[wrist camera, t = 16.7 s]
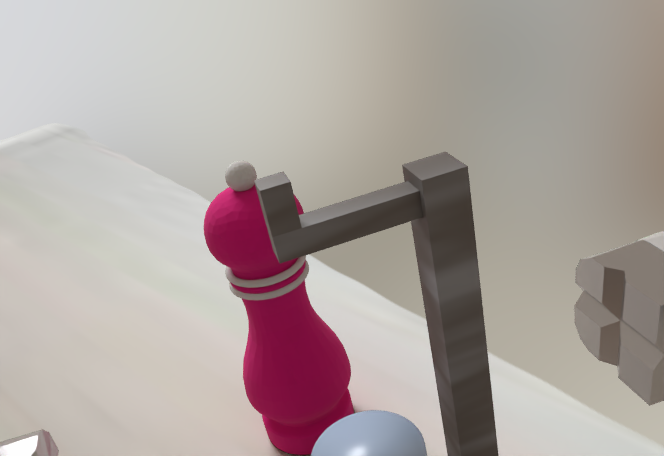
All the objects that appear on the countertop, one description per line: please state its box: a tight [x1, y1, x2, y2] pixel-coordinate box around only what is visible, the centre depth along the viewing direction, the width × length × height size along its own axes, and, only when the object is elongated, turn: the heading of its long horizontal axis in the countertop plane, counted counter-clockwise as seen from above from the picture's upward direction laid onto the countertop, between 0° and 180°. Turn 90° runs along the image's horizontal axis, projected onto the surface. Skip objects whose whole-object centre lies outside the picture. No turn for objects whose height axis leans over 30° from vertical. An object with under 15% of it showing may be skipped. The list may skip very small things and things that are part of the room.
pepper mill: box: [204, 161, 354, 455], centre depth 40 cm, size 7×7×20 cm
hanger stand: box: [254, 152, 498, 456], centre depth 27 cm, size 12×13×23 cm
